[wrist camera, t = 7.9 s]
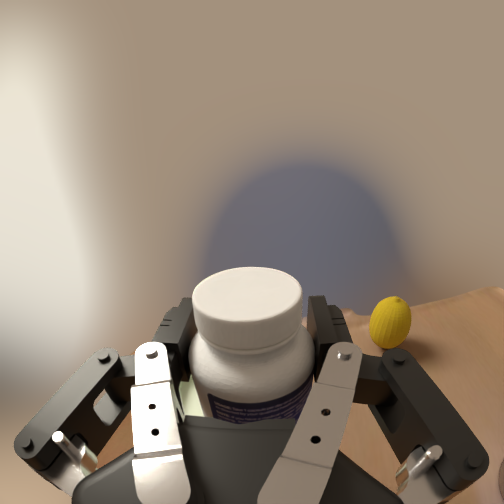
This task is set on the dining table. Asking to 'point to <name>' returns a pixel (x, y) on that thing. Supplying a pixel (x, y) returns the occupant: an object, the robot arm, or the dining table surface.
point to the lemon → (390, 322)
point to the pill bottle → (251, 346)
